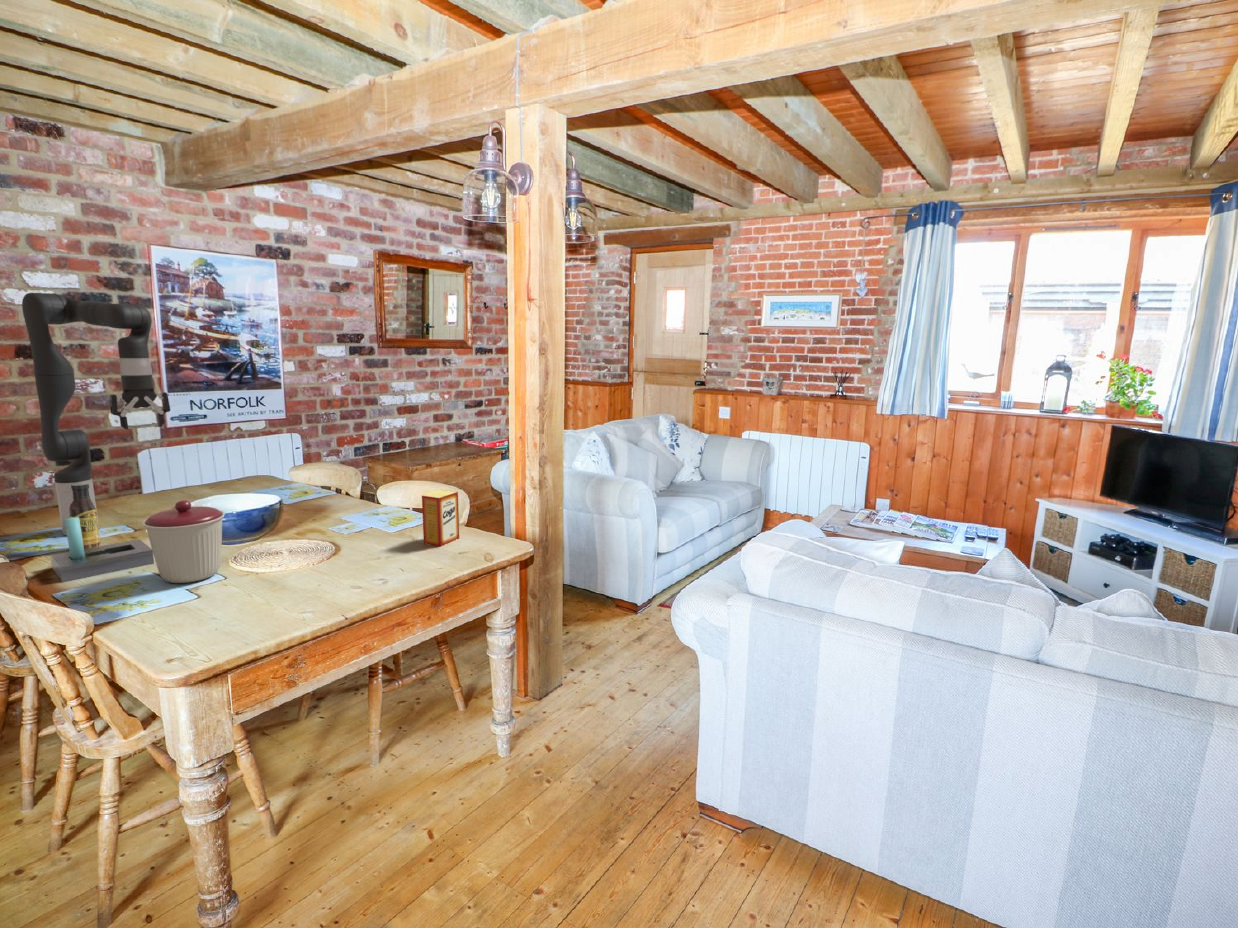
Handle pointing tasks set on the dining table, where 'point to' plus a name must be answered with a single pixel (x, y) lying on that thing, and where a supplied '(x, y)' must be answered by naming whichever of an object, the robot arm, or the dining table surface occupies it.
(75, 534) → the peg
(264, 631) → the dining table surface
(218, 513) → the canister
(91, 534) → the sauce bottle
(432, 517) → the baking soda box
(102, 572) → the grey slotted block
